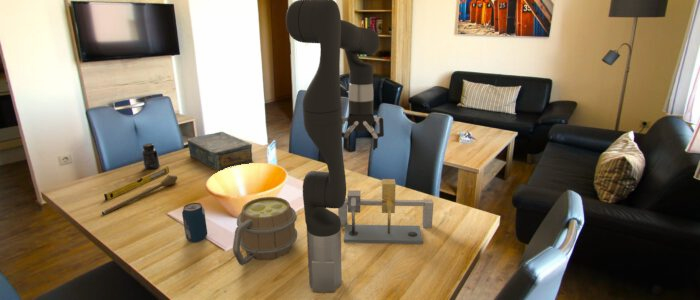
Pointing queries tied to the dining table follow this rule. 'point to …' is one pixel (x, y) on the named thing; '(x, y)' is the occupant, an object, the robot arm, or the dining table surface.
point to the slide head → (388, 199)
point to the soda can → (194, 222)
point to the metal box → (220, 150)
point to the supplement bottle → (150, 157)
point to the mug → (265, 229)
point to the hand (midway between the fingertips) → (360, 149)
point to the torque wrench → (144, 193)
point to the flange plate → (383, 234)
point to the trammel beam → (355, 204)
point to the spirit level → (136, 183)
